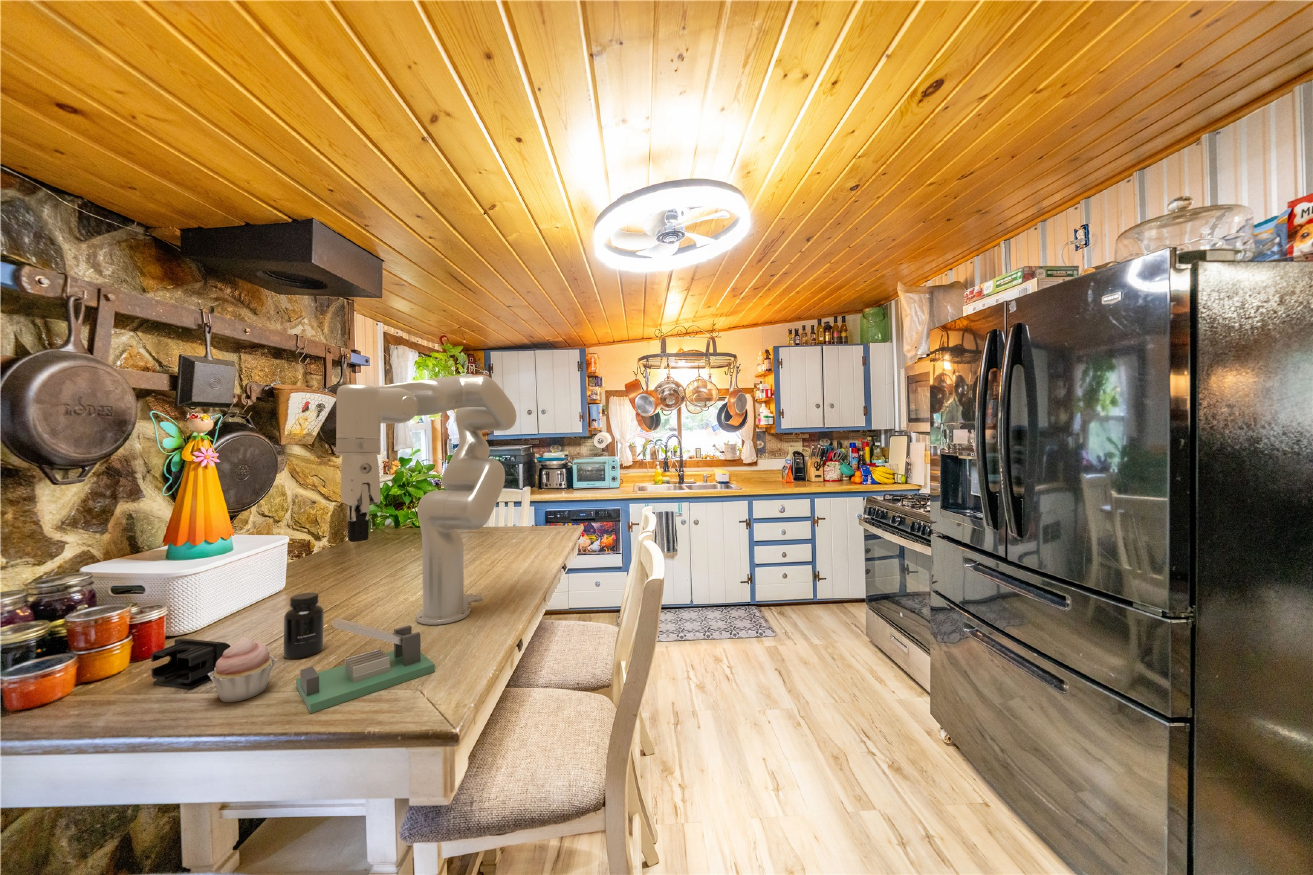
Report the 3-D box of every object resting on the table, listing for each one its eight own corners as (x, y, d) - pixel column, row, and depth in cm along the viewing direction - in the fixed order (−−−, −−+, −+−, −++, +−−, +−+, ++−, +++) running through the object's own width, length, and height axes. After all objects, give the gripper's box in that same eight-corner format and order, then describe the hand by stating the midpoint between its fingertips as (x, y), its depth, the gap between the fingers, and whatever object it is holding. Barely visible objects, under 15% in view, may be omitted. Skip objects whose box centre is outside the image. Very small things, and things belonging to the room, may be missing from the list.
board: (412, 652, 104) (412, 619, 104) (434, 671, 96) (434, 635, 95) (296, 686, 90) (295, 648, 90) (310, 713, 81) (310, 671, 81)
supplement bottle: (303, 661, 100) (302, 602, 100) (275, 658, 101) (274, 599, 101) (331, 647, 107) (331, 591, 106) (305, 644, 108) (304, 589, 108)
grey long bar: (406, 644, 99) (410, 635, 99) (411, 648, 97) (415, 640, 97) (330, 624, 90) (335, 616, 90) (334, 629, 88) (340, 620, 88)
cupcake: (259, 676, 94) (258, 623, 94) (287, 687, 90) (287, 632, 90) (196, 700, 85) (196, 642, 85) (225, 713, 81) (224, 652, 81)
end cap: (233, 671, 96) (233, 636, 96) (193, 690, 89) (192, 653, 89) (192, 667, 98) (192, 632, 98) (149, 685, 91) (149, 648, 91)
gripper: (391, 448, 95) (391, 543, 95) (368, 447, 106) (368, 532, 106) (346, 448, 90) (346, 549, 90) (327, 447, 101) (327, 537, 100)
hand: (358, 540), depth 98 cm, fingers closed
